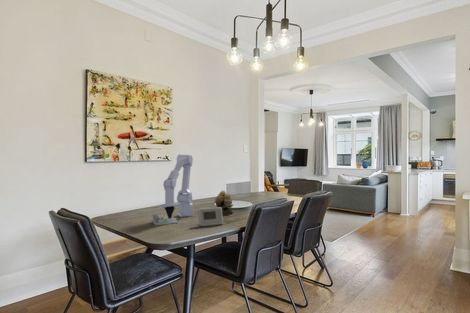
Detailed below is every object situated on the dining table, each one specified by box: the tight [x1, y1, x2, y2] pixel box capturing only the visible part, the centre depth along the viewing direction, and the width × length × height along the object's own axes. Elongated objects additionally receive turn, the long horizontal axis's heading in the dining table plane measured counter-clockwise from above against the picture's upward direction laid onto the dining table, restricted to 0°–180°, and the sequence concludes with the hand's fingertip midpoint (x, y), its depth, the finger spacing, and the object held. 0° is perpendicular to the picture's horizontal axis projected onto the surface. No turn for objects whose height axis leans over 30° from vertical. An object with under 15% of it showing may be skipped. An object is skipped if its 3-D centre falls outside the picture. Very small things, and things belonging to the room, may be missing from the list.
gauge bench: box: [152, 213, 179, 226], centre depth 189 cm, size 14×11×5 cm
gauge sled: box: [159, 214, 168, 220], centre depth 188 cm, size 5×5×4 cm
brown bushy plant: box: [214, 190, 234, 215], centre depth 220 cm, size 18×12×17 cm, turn 48°
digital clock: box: [197, 206, 224, 227], centre depth 184 cm, size 16×9×11 cm, turn 102°
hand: (169, 218), depth 190 cm, fingers closed
